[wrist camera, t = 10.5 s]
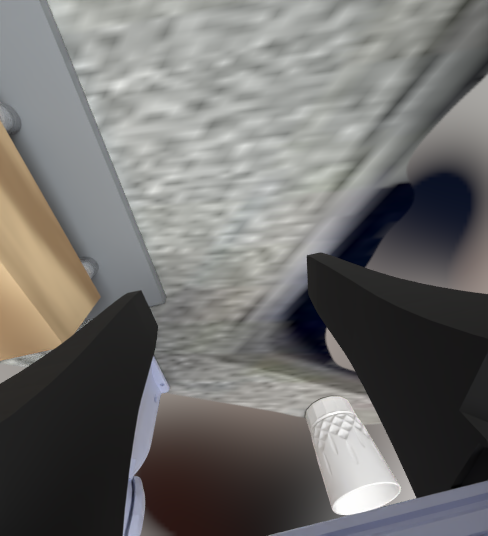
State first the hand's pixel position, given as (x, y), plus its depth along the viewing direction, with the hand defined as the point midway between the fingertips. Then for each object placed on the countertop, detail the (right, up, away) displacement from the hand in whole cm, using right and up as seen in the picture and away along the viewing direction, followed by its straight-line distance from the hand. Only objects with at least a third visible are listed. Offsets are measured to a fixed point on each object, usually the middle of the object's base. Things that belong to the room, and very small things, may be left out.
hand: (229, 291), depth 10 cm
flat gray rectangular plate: (-14, +6, +7) cm, 16 cm away
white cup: (+13, -20, +24) cm, 34 cm away
